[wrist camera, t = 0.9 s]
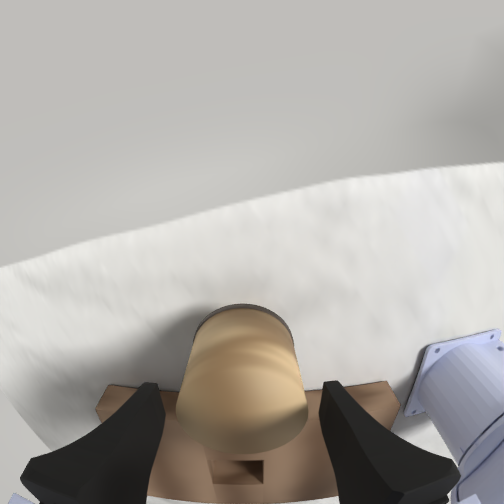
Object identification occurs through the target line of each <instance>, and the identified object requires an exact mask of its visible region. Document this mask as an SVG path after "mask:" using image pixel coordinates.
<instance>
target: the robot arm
mask: <svg viewBox="0 0 504 504" xmlns="http://www.w3.org/2000/svg"><path fill="white" fill-rule="evenodd" d="M500 336H501V330H500V329H495V330H491V331H488V332H484V333H480V334H476V335H472V336H468V337H464V338H459V339H455V340H450V341H446V342H441V343H436V344H432V345H430V346H428V347H427V349H426V351H425V355H424V358H423V361H422V364H421V367H420V370H419V373H418V376H417V379H416V381H415V384H414V387H413V390H412V392H411V395H410V397H409V400H408V403H407V405H406V407H405V410H404V415H405V416H406V417H408V416H412V415H416V414H419V413H423V412H426V413H427V414H428V416H429V417H430V419H431V421H432V422H433V424H434V425H435V427H436V429H437V430H438V432H439V434H440V435H441V437H442V439H443V440H444V442H445V444H446V445H447V447H448V449H449V451H450V452H451V454H452V456H453V457H454V459H455V461H456V463H457V464H458V466H459V467H458V468H457V466H456V465H455V463H454V462H453V460H452V459H449V458H446V457H442V456H439V455H436V454H433V453H430V452H428V451H426V450H423V449H421V448H419V447H417V446H414V445H413V444H411V443H409V442H407V441H405V440H403V439H402V438H400V437H398V436H397V435H395V434H394V433H392V432H391V431H389V430H388V429H387V428H385V427H384V426H383V425H381V424H380V423H379V422H378V421H377V420H375V419H374V418H373V417H372V416H371V415H370V414H369V413H368V412H367V411H366V410H365V409H364V408H363V407H362V406H360V405H359V404H358V402H357V401H356V400H355V399H354V398H353V397H352V396H351V395H350V394H349V393H348V392H347V391H346V389H345V388H344V387H343V386H342V385H341V384H340V383H339V382H338V381H327V382H324V384H323V390H322V396H321V401H320V407H319V412H318V414H319V420H320V426H321V431H322V435H323V438H324V441H325V444H326V448H327V451H328V454H329V457H330V460H331V463H332V467H333V470H334V474H335V478H336V483H337V489H338V495H339V502H340V504H446V503H448V502H449V498H448V496H447V494H448V493H449V492H450V491H451V490H452V491H451V504H504V343H502V342H501V341H500V340H499V338H500ZM165 417H166V413H165V409H164V406H163V402H162V399H161V395H160V391H159V388H158V384H157V383H146V382H145V383H143V384H142V385H141V386H140V387H139V388H138V390H137V391H136V392H135V393H134V394H133V395H132V396H131V397H130V398H129V399H128V400H127V401H126V402H125V403H124V404H123V405H122V406H121V407H120V408H119V409H118V410H117V411H116V412H115V413H114V414H112V415H111V416H110V417H109V418H108V419H107V420H105V421H104V422H103V423H102V424H101V425H99V426H98V427H97V428H95V429H94V430H93V431H91V432H90V433H88V434H87V435H85V436H83V437H82V438H80V439H78V440H76V441H75V442H73V443H71V444H69V445H67V446H65V447H63V448H60V449H58V450H56V451H53V452H50V453H48V454H44V455H41V456H38V457H34V458H31V459H30V461H29V463H28V464H27V466H26V468H25V470H24V471H23V473H22V475H21V477H20V480H21V482H22V484H23V485H24V486H25V487H26V488H27V489H28V490H29V491H30V492H31V493H32V494H33V495H34V496H35V497H36V498H37V499H38V500H39V501H40V503H39V504H146V499H147V491H148V485H149V479H150V474H151V470H152V467H153V464H154V460H155V457H156V454H157V451H158V448H159V444H160V441H161V438H162V434H163V430H164V424H165ZM8 504H34V503H33V502H31V501H29V500H27V499H25V498H23V497H22V496H20V495H18V494H16V493H13V495H12V497H11V499H10V501H9V503H8Z"/></svg>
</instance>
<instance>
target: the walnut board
mask: <svg viewBox="0 0 504 504" xmlns="http://www.w3.org/2000/svg"><path fill="white" fill-rule="evenodd" d="M344 388H345V389H346V391H347V392H348V393H349V394H350V395H351V396H352V397H353V398H354V399H355V400H356V401H357V402H358V404H359V405H360V406H362V407H363V408H364V409H365V410H366V411H367V412H368V413H369V414H370V415H371V416H372V417H373V418H374V419H375V420H377V421H378V422H379V423H380V424H381V425H383V426H384V427H385V428H387V429H388V430H389V431H390V430H391V427H392V425H393V423H394V420H395V418H396V416H397V413H398V411H399V408H400V406H401V405H400V403H399V401H398V400H397V398H396V396H395V394H394V393H393V391H392V389H391V387H390V386H389V384H388V382H387V381H383V382H378V383H371V384H365V385H358V386H351V387H344ZM137 390H138V389H136V388H128V387H120V386H113V385H108V387H107V389H106V390H105V392H104V394H103V396H102V397H101V399H100V401H99V403H98V405H97V406H96V408H95V410H96V412H97V414H98V416H99V418H100V420H101V423H103V422H104V421H105V420H107V419H108V418H109V417H110V416H111V415H112V414H114V413H115V412H116V411H117V410H118V409H119V408H120V407H121V406H122V405H123V404H124V403H125V402H126V401H127V400H128V399H129V398H130V397H131V396H132V395H133V394H134V393H135V392H136V391H137ZM304 392H305V396H306V400H307V404H308V419H307V422H306V424H305V426H304V428H303V429H302V431H301V432H300V433H299V434H298V435H297V436H296V437H295V438H294V439H293V440H291V441H290V442H288V443H287V444H285V445H283V446H281V447H279V448H276V449H273V450H270V451H267V452H262V453H256V454H231V453H225V452H221V451H217V450H214V449H211V448H208V447H206V446H204V445H202V444H200V443H198V442H197V441H195V440H194V439H193V438H191V437H190V436H189V435H188V434H187V433H186V432H185V431H184V430H183V428H182V427H181V425H180V424H179V422H178V419H177V416H176V404H177V400H178V396H179V392H167V391H160V395H161V399H162V402H163V406H164V409H165V413H166V417H165V424H164V430H163V434H162V438H161V441H160V444H159V448H158V451H157V454H156V457H155V460H154V464H153V467H152V470H151V474H150V479H149V485H148V491H147V495H148V496H154V497H160V498H166V499H173V500H181V501H190V502H201V503H216V504H272V503H287V502H298V501H307V500H315V499H323V498H329V497H335V496H339V495H338V489H337V483H336V478H335V474H334V470H333V467H332V463H331V460H330V457H329V454H328V451H327V448H326V444H325V441H324V438H323V435H322V431H321V426H320V420H319V414H318V412H319V407H320V401H321V396H322V390H316V391H304Z"/></svg>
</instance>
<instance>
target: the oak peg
mask: <svg viewBox="0 0 504 504" xmlns="http://www.w3.org/2000/svg"><path fill="white" fill-rule="evenodd" d="M176 416H177V419H178V422H179V424H180V425H181V427H182V428H183V430H184V431H185V432H186V433H187V434H188V435H189V436H190V437H191V438H193V439H194V440H195V441H197V442H198V443H200V444H202V445H204V446H206V447H208V448H211V449H214V450H217V451H221V452H225V453H231V454H256V453H262V452H267V451H270V450H273V449H276V448H279V447H281V446H283V445H285V444H287V443H288V442H290V441H291V440H293V439H294V438H295V437H296V436H297V435H298V434H299V433H300V432H301V431H302V429H303V428H304V426H305V424H306V422H307V419H308V404H307V400H306V396H305V392H304V387H303V383H302V379H301V375H300V370H299V366H298V362H297V358H296V354H295V350H294V342H293V337H292V334H291V331H290V329H289V327H288V326H287V324H286V323H285V322H284V320H283V319H282V318H281V317H279V316H278V315H277V314H275V313H274V312H272V311H270V310H269V309H266V308H264V307H261V306H257V305H252V304H233V305H228V306H225V307H222V308H220V309H217V310H215V311H214V312H212V313H210V314H209V315H208V316H207V317H206V318H205V319H204V320H203V321H202V322H201V323H200V325H199V326H198V328H197V330H196V333H195V336H194V340H193V347H192V350H191V353H190V357H189V360H188V364H187V367H186V371H185V375H184V378H183V382H182V385H181V389H180V392H179V396H178V400H177V404H176Z"/></svg>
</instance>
